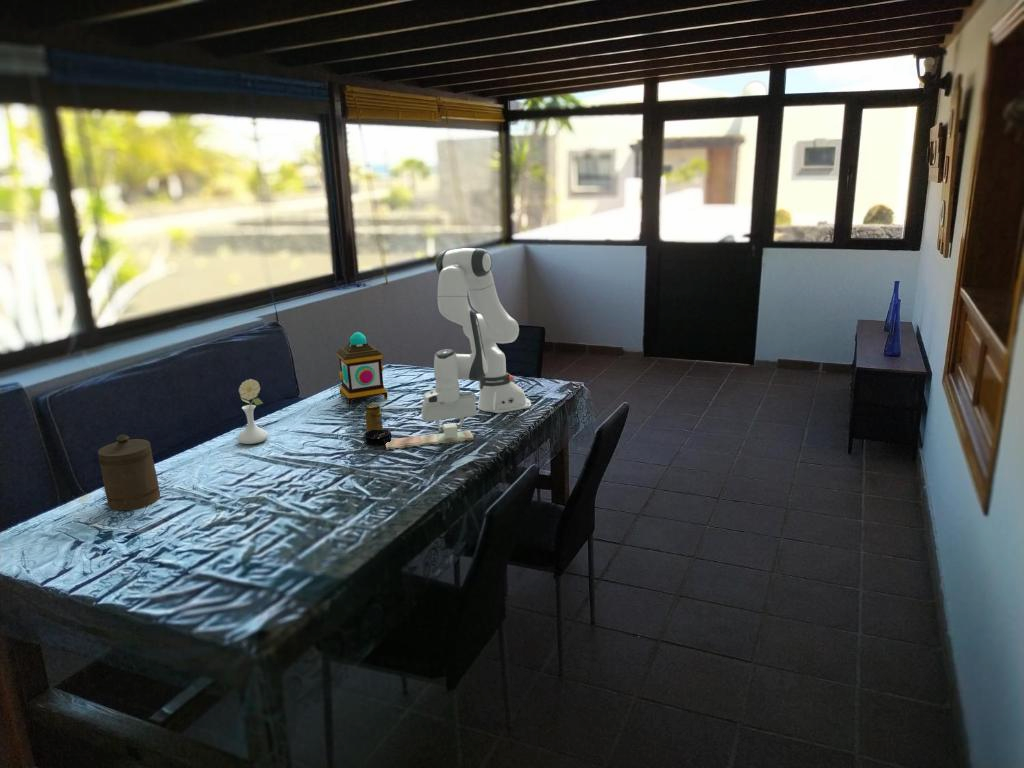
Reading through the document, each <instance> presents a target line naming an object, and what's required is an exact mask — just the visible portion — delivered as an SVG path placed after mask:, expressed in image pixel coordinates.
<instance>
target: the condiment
mask: <svg viewBox="0 0 1024 768" xmlns="http://www.w3.org/2000/svg"><path fill="white" fill-rule="evenodd" d="M380 407H381V405H379V404H377V403H372V404H371V403H370V404H366V406H365V415H364V416H365V427H366V432H367V431H370V430H383V431H384V428H383V427H384V426H383V417H382V416H383V415H382V411H381V408H380ZM363 435H364V434H362V437H364V436H363Z"/></svg>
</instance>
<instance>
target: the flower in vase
mask: <svg viewBox="0 0 1024 768" xmlns="http://www.w3.org/2000/svg"><path fill="white" fill-rule="evenodd" d="M260 386H261V385H260V384H259V382H258V380H255V379H252V378H249V379H246V380H245V381H243V382H241V384H240V385H239V388H238V392H239V395H240V399H241V401H242V402H245V403H247V405H243V406H242V407H241V409H242V410H243V411H244V413H245V416H246V421H247V425H246V427H245V428H244V430H242V431H241V432H240V433H239V435H238V436H237V438H236V439H237V441H238V443H241V444H245V445H253V444H258V443H261V442H264V441H265V440H267V439H268V438H269V435H270V434H269V433H268V432H267V431H266V430H264V429H263V428H261V427H259V426H257V425H256V423H255V420H254V411H255V409H256V407H257V406H259V405H262V404H264V402H262V400H261V399H260V398H259V397H258V395H259V394H260V391H261V387H260ZM251 400H252V401H251ZM250 401H251V402H250ZM253 403H254V404H253Z"/></svg>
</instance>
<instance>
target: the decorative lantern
mask: <svg viewBox="0 0 1024 768" xmlns="http://www.w3.org/2000/svg"><path fill="white" fill-rule="evenodd" d="M336 355H337V357H338V359H339V367H340V371H339V372H338V378H339V379H340V380H341V385H340V387H339V393H340V396H341V397H345V398H346V399H347V403H348V406H352V405H353V404H352V403H353V400H356V399H363V398H370V397H374V396H375V397H376V396H383V399H384V400H388V392H387V390H386V388H385V386H384V375H383V372H384V364H383V363H382V358H383V356H384V354H383V352H381V351H380V350H379V349H378V348H376V347H375V346H374V345H373V344H372V343H368V342H367V337H366V336H365V335H364V334H363V333H362V332H359V331H357V332H354V333H353V334H352V335H351V336H350V338H349V342H348V344H346V345H345V346H344V347H340V348H339V349H338V350H337V351H336Z"/></svg>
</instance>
